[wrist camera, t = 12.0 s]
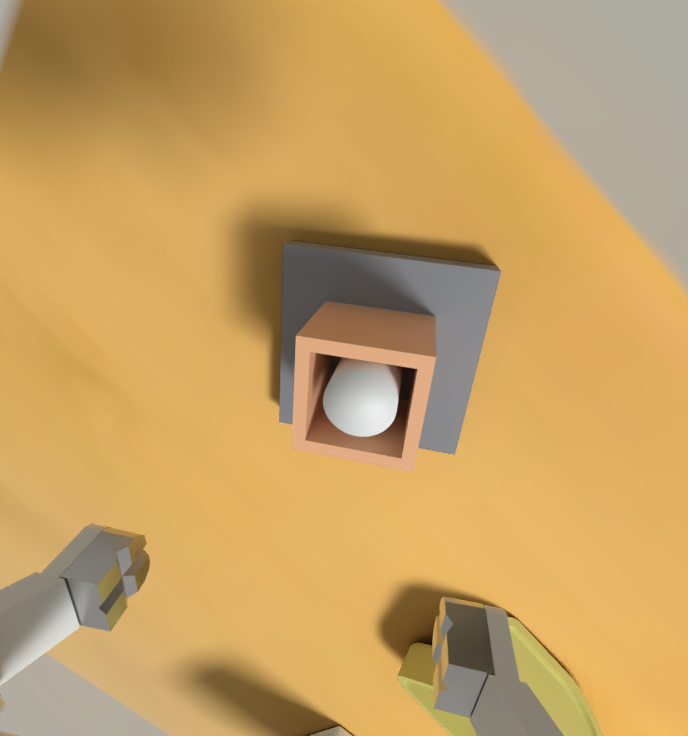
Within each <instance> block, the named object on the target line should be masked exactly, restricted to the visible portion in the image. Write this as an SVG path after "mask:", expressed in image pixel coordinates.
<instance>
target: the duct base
mask: <svg viewBox="0 0 688 736" xmlns="http://www.w3.org/2000/svg"><path fill="white" fill-rule="evenodd" d="M500 273H501V271H500V269H499V268H498V266H494V265H486V264H478V263H470V262H462V261H453V260H445V259H437V258H429V257H421V256H413V255H405V254H397V253H388V252H380V251H372V250H364V249H356V248H348V247H340V246H332V245H324V244H315V243H307V242H299V241H289V242H287V243H285V244H283V276H282V321H281V366H280V411H279V422H283V423H288V424H293V401H294V373H295V346H296V335H297V334H298V333H299V331H300V330H301V329H302V328H303V327H304V326H305V325H306V323H307V322H308V321H309V320H310V319H311V318H312V317H313V315H314V314H315V313H316V312H317V311H318V310H319V308H320V307H321V306H322V305H323V304H324V303H325V302H326V301H331V302H338V303H345V304H352V305H359V306H366V307H373V308H380V309H388V310H395V311H402V312H409V313H416V314H423V315H430V316H436V362H435V367H434V372H433V377H432V382H431V387H430V392H429V397H428V402H427V407H426V412H425V417H424V422H423V427H422V432H421V437H420V442H419V447H418V448H422V449H427V450H432V451H438V452H443V453H448V454H454V455H455V452H456V448H457V444H458V440H459V436H460V432H461V428H462V424H463V420H464V416H465V412H466V408H467V404H468V400H469V396H470V392H471V388H472V384H473V380H474V376H475V372H476V368H477V365H478V361H479V357H480V353H481V349H482V345H483V341H484V337H485V333H486V329H487V325H488V321H489V317H490V313H491V309H492V305H493V301H494V297H495V293H496V289H497V285H498V281H499V277H500ZM413 370H414V368H408V367H402V366H395V365H389V364H383V363H377V362H370V361H364V360H358V359H351V358H345V357H339V356H333V367H332V378H331V379H330V381H329V383H328V385H327V387H326V389H325V392H324V396H323V406H324V410H325V413H326V415H327V417H328V418H329V420H330V421H331V422H332V424H333V425H334V426H336V427H337V428H338V429H340V430H341V431H343V432H345V433H347V434H350V435H353V436H359V437H368V436H374V435H377V434H379V433H381V432H383V431H384V430H386V429H387V428H388V427H389V426H390V425H391V424H392V422H393V421H394V419H395V416H396V412H397V406H398V400H399V399H400V400H406V401H408V398H409V392H410V387H411V381H412V375H413Z"/></svg>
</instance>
